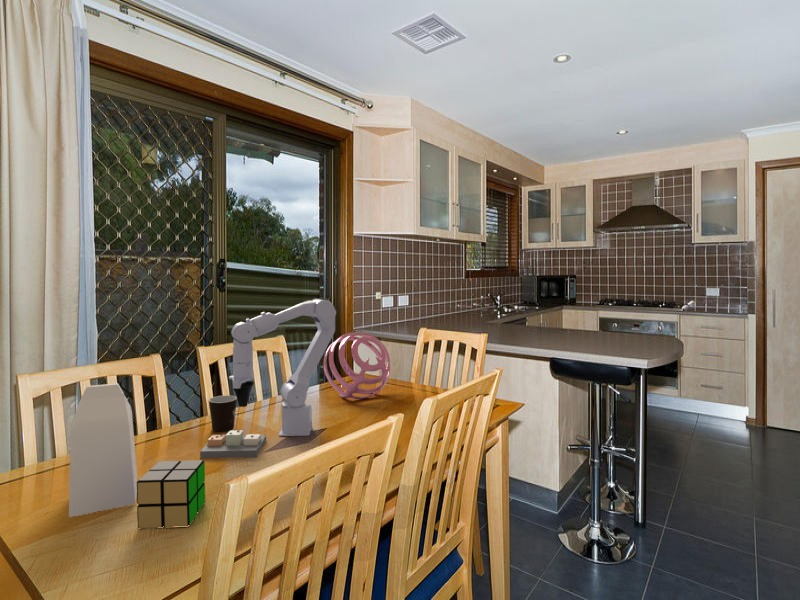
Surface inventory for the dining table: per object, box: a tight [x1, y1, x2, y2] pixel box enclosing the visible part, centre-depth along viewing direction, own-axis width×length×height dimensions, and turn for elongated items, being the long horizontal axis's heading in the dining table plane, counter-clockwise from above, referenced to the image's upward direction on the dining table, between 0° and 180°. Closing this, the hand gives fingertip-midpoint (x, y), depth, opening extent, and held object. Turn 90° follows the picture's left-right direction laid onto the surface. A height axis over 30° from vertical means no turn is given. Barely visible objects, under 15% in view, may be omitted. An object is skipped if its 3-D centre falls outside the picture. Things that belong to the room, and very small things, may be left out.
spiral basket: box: [323, 331, 391, 400], centre depth 191 cm, size 28×28×27 cm
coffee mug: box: [208, 395, 238, 433], centre depth 151 cm, size 12×9×10 cm
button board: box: [199, 434, 267, 459], centre depth 133 cm, size 15×12×2 cm
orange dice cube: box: [207, 434, 226, 446], centre depth 132 cm, size 4×4×4 cm
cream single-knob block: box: [244, 433, 262, 446], centre depth 133 cm, size 4×4×4 cm
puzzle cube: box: [136, 459, 206, 529], centre depth 96 cm, size 10×10×10 cm
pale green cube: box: [225, 429, 244, 446], centre depth 132 cm, size 4×4×4 cm
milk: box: [68, 382, 138, 518], centre depth 102 cm, size 12×12×26 cm
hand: (243, 406), depth 140 cm, fingers closed
